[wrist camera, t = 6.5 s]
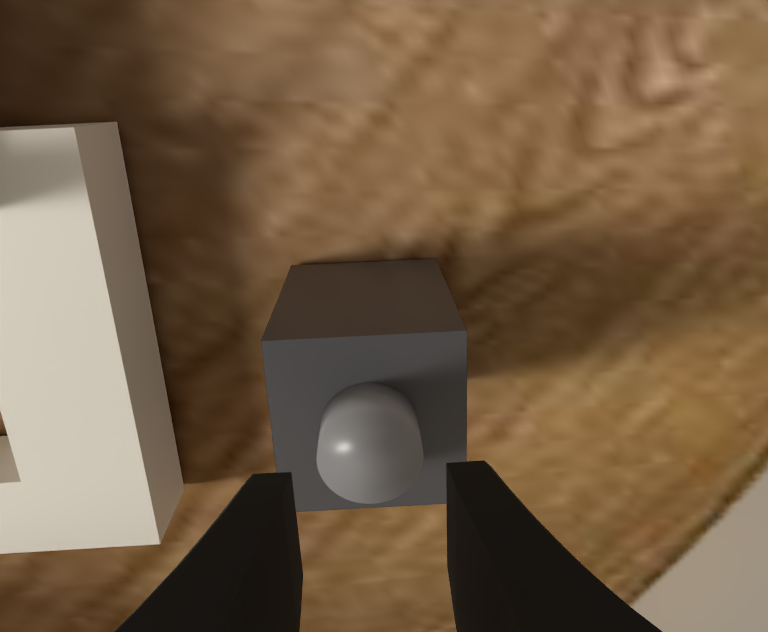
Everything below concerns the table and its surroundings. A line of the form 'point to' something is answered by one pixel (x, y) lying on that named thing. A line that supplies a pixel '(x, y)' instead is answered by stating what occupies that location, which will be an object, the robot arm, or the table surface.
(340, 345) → the plug
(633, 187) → the table surface
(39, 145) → the socket plate
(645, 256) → the table surface
